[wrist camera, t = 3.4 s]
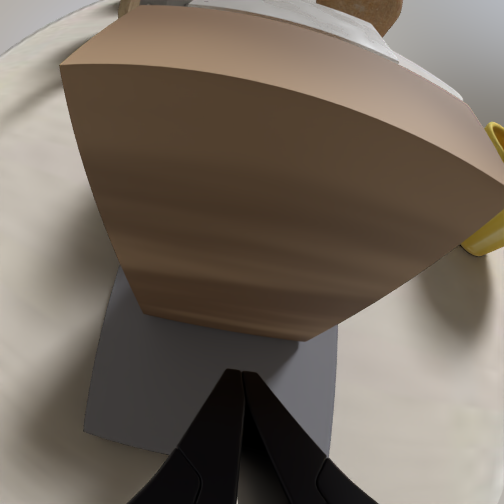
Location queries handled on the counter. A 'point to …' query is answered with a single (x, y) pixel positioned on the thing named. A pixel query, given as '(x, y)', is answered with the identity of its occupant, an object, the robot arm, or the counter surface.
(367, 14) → the stone cup
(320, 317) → the wood block
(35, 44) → the counter surface
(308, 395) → the mat
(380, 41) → the bearing block
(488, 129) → the plant pot
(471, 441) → the counter surface
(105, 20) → the counter surface
